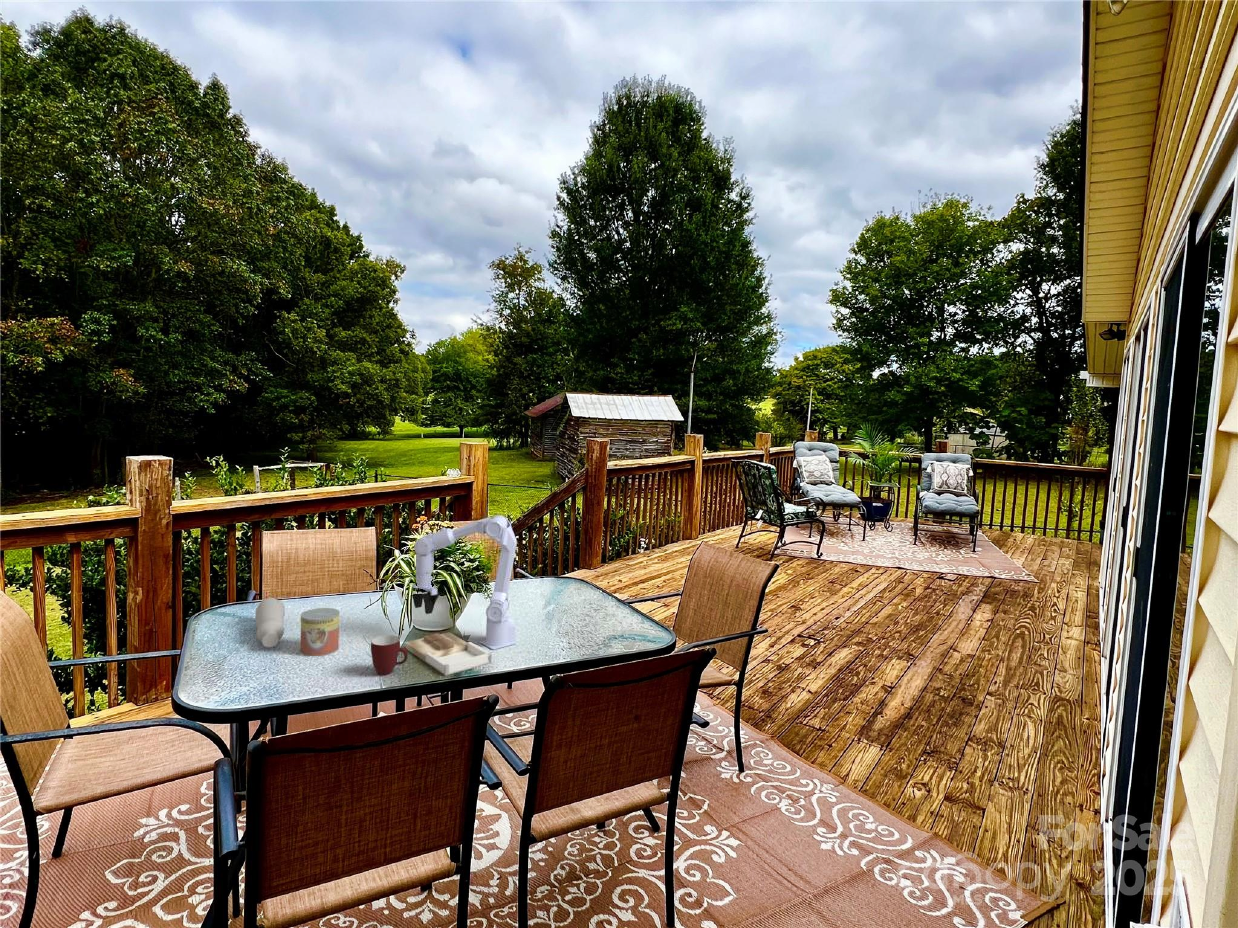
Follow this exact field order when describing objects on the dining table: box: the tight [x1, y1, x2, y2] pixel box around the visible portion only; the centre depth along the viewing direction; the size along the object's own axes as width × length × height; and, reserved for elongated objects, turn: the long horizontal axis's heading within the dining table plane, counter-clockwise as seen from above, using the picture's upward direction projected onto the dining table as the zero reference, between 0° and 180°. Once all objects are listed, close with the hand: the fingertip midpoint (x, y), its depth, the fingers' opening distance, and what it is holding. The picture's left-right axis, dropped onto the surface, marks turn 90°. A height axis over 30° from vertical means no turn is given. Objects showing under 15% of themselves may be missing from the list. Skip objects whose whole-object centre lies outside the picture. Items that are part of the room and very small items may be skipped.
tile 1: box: [423, 632, 445, 645], centre depth 210 cm, size 5×5×2 cm
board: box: [404, 631, 468, 663], centre depth 209 cm, size 16×14×2 cm
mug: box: [370, 634, 409, 676], centre depth 189 cm, size 10×8×10 cm
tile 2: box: [432, 638, 454, 651], centre depth 206 cm, size 5×5×2 cm
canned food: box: [299, 607, 340, 657], centre depth 202 cm, size 11×11×12 cm
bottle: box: [255, 597, 286, 648], centre depth 212 cm, size 9×9×30 cm
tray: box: [425, 641, 492, 677], centre depth 199 cm, size 16×13×3 cm
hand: (423, 610), depth 215 cm, fingers open, 7 cm apart
